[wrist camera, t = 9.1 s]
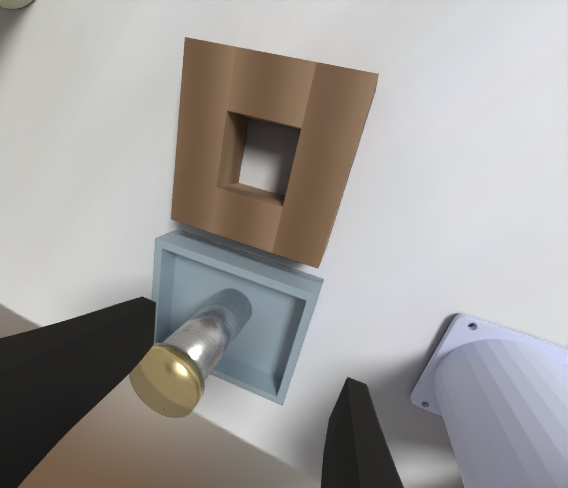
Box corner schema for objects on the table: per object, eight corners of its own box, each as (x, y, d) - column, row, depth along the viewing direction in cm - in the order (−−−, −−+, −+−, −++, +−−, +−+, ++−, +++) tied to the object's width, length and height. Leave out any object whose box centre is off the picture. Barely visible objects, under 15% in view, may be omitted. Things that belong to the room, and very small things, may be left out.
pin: (261, 294, 20) (199, 373, 12) (251, 336, 21) (191, 429, 14) (213, 276, 21) (129, 340, 13) (207, 318, 22) (128, 397, 15)
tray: (323, 279, 19) (318, 295, 17) (290, 380, 23) (282, 405, 20) (177, 229, 21) (155, 238, 19) (169, 329, 25) (149, 346, 22)
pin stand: (376, 89, 15) (378, 73, 12) (324, 251, 18) (318, 268, 16) (214, 57, 17) (184, 37, 14) (197, 210, 20) (170, 219, 17)
